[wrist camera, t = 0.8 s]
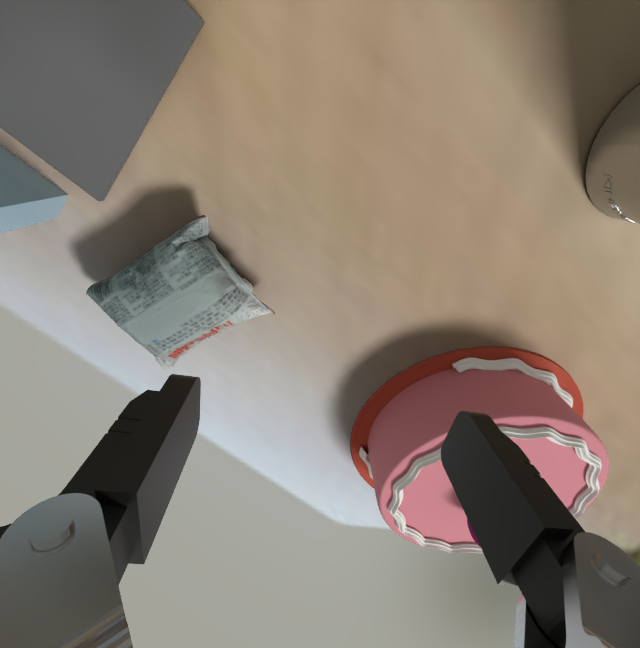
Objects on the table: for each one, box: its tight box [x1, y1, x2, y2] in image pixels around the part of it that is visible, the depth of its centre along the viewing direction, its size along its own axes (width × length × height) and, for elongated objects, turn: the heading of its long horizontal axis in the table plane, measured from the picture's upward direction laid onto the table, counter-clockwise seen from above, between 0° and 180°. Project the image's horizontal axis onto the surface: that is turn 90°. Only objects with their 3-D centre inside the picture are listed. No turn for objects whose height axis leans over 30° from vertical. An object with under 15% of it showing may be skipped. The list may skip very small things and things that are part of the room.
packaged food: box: [86, 215, 275, 369], centre depth 24 cm, size 9×12×5 cm
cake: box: [350, 347, 609, 554], centre depth 31 cm, size 25×25×11 cm
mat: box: [0, 0, 204, 201], centre depth 18 cm, size 13×9×1 cm
